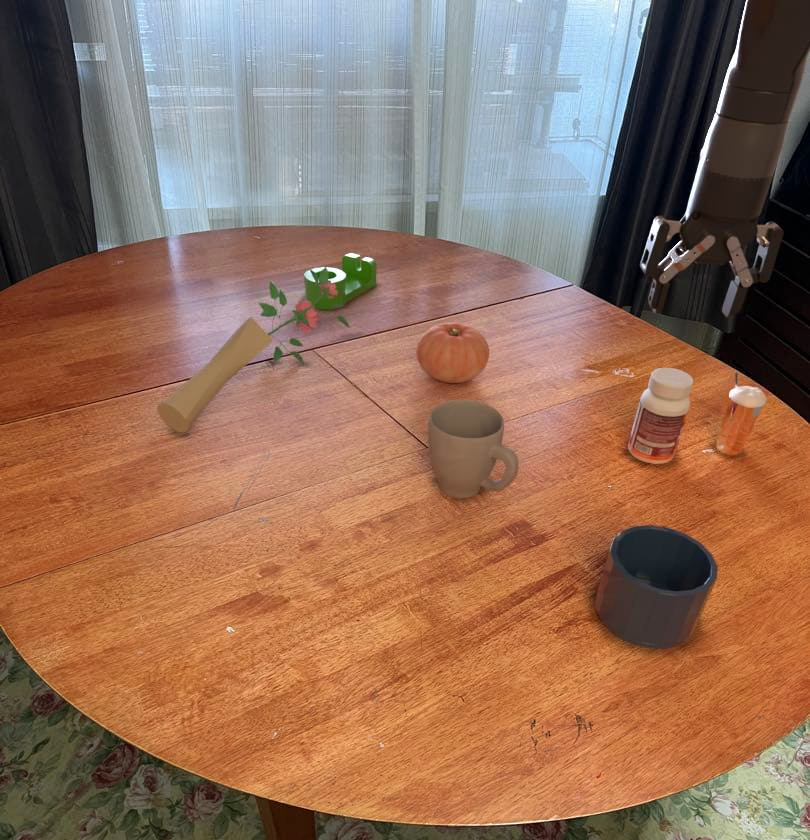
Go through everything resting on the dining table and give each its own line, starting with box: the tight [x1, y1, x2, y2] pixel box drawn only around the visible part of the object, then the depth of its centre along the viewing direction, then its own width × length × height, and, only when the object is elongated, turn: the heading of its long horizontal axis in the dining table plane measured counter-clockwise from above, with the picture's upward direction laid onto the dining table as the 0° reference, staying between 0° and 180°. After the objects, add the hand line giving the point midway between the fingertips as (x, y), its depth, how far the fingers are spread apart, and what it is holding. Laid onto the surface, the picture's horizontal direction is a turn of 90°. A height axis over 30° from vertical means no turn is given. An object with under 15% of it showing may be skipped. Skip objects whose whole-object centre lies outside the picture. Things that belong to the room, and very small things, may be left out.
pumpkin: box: [416, 322, 490, 384], centre depth 113 cm, size 11×11×8 cm
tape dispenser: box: [304, 252, 378, 310], centre depth 136 cm, size 15×7×5 cm, turn 149°
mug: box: [427, 399, 519, 499], centre depth 91 cm, size 12×9×10 cm
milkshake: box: [715, 372, 767, 456], centre depth 101 cm, size 4×5×10 cm
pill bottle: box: [627, 367, 694, 465], centre depth 99 cm, size 6×6×11 cm
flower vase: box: [156, 266, 351, 434], centre depth 110 cm, size 12×12×35 cm
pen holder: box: [594, 524, 719, 650], centre depth 77 cm, size 10×10×8 cm
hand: (691, 313), depth 90 cm, fingers open, 8 cm apart
